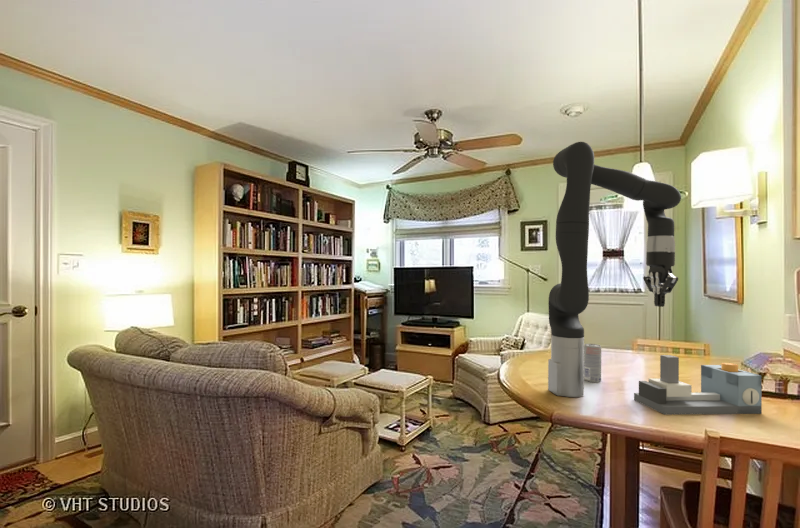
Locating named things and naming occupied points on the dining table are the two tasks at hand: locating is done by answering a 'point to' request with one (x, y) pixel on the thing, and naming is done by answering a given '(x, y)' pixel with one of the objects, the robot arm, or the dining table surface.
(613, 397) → the dining table surface
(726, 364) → the button
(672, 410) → the rail track
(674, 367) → the carriage
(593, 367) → the energy drink
